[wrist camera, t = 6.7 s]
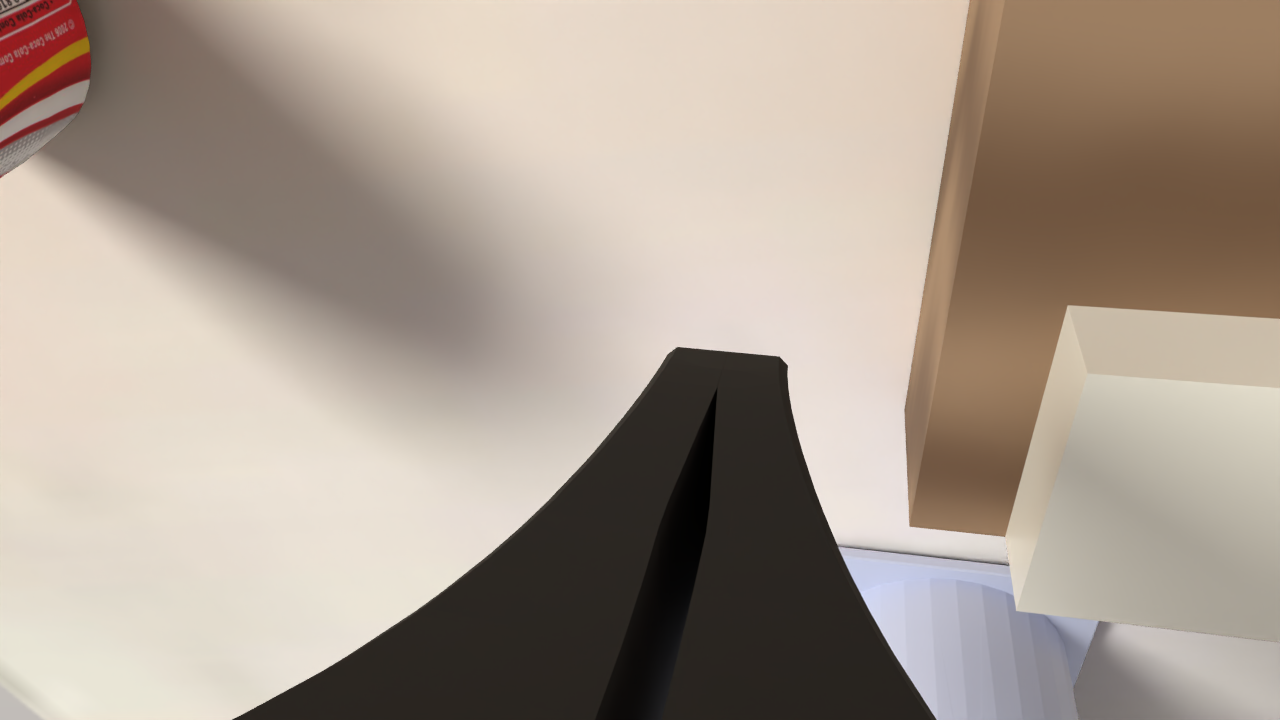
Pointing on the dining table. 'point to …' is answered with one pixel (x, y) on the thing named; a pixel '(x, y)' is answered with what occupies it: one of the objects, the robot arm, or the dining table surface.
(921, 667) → the robot arm
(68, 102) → the soda can
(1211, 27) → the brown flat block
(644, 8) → the dining table surface
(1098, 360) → the off-white flat block
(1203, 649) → the dining table surface
